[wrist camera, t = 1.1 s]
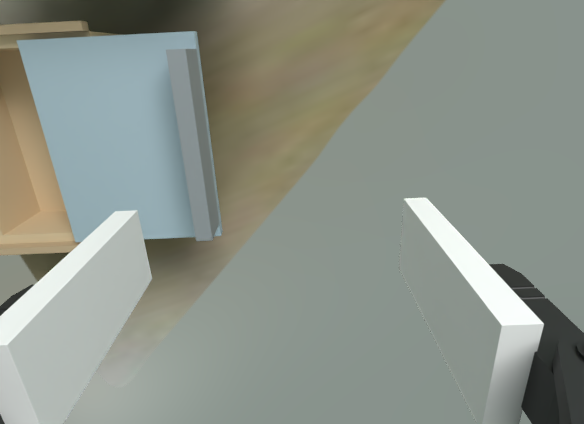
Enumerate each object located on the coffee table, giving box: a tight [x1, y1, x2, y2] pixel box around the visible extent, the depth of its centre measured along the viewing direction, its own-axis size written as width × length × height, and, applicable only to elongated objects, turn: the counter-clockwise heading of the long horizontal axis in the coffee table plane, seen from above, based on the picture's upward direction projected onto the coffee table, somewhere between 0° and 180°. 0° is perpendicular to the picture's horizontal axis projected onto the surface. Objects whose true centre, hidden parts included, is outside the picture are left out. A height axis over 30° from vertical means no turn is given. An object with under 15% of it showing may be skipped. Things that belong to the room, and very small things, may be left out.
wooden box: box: [0, 21, 121, 255], centre depth 32 cm, size 17×12×7 cm
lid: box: [17, 31, 222, 242], centre depth 28 cm, size 15×12×4 cm
